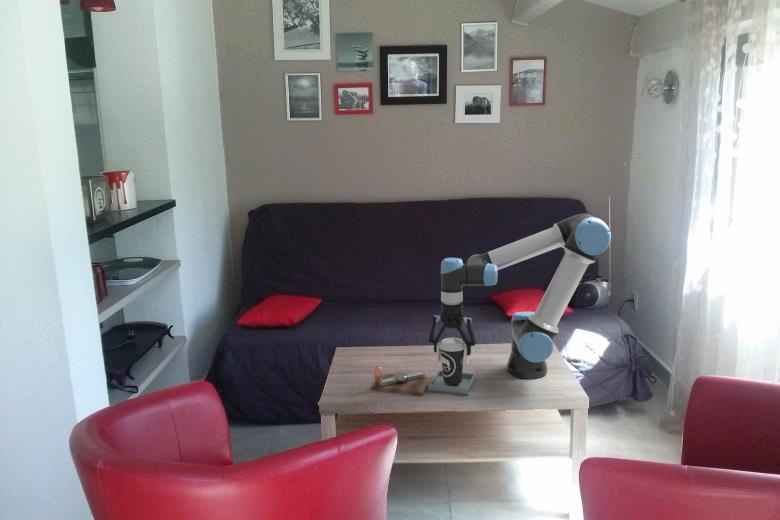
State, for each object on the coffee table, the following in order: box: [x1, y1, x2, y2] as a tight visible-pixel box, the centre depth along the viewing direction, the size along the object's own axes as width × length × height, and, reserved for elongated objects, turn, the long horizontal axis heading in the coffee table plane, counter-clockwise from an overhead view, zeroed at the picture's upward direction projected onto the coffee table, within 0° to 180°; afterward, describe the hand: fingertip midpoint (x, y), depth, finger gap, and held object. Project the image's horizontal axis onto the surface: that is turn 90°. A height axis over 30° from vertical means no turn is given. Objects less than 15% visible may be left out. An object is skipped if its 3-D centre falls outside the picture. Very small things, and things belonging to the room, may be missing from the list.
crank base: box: [371, 372, 433, 397], centre depth 230 cm, size 19×13×2 cm
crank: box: [374, 364, 426, 386], centre depth 229 cm, size 19×5×7 cm, turn 115°
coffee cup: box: [439, 337, 466, 384], centre depth 227 cm, size 10×10×15 cm
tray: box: [427, 369, 477, 397], centre depth 229 cm, size 14×14×2 cm
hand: (452, 362), depth 227 cm, fingers closed on coffee cup, 9 cm apart
